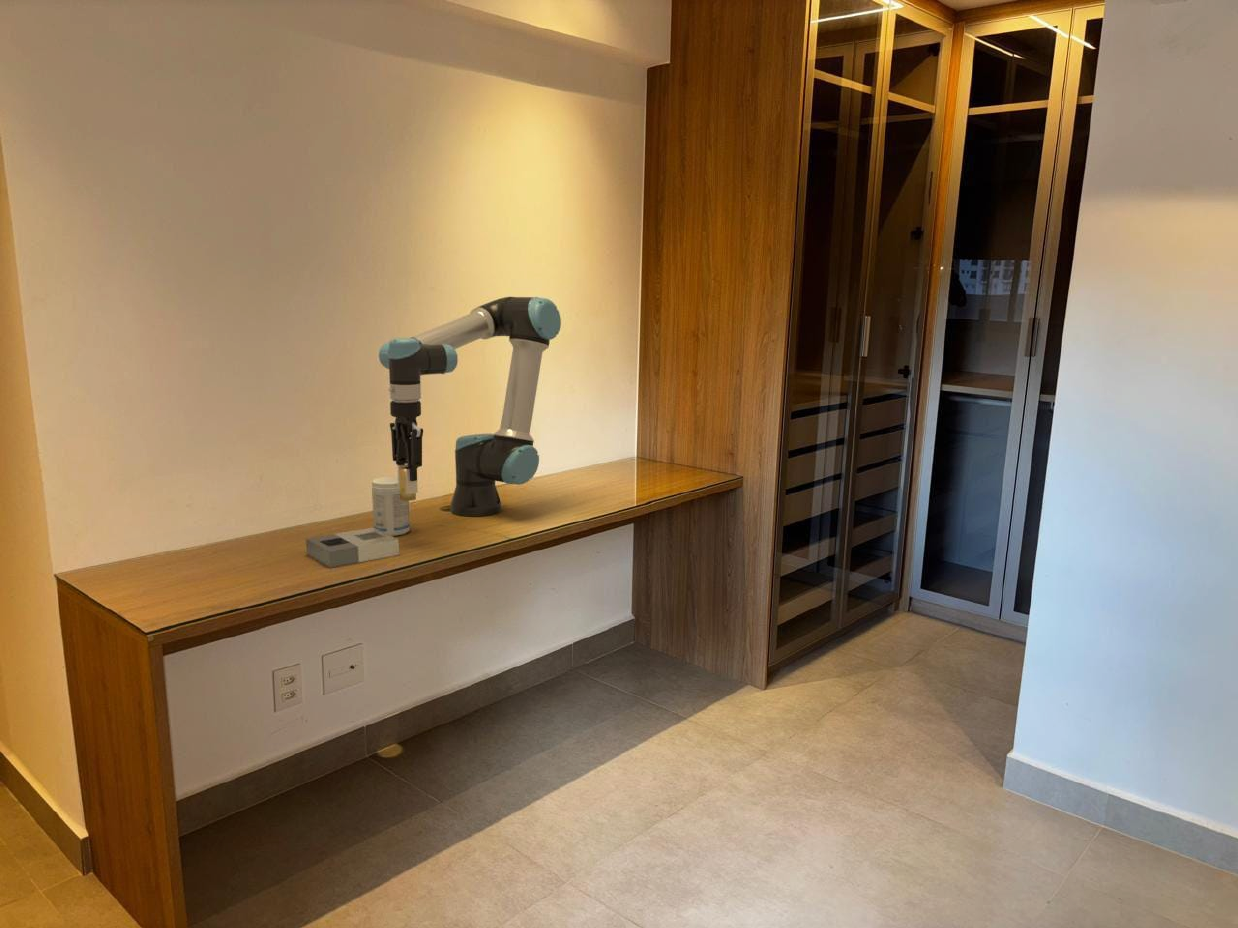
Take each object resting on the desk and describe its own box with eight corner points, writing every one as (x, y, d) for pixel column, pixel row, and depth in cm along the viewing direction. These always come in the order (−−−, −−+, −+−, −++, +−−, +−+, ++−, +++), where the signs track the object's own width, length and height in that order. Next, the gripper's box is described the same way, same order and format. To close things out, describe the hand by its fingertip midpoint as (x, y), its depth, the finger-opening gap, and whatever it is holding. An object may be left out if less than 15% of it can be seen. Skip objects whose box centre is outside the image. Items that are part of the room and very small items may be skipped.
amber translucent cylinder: (411, 496, 232) (410, 466, 230) (418, 499, 229) (418, 468, 227) (396, 498, 229) (396, 468, 228) (404, 501, 226) (403, 470, 225)
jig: (374, 542, 235) (373, 527, 234) (398, 554, 224) (398, 539, 223) (306, 554, 223) (305, 538, 222) (329, 568, 213) (328, 551, 212)
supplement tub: (409, 526, 250) (408, 475, 247) (410, 536, 241) (409, 482, 238) (373, 528, 248) (371, 476, 245) (373, 537, 239) (371, 484, 236)
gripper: (376, 397, 228) (379, 487, 232) (407, 405, 215) (410, 499, 220) (403, 396, 233) (405, 483, 237) (435, 403, 220) (437, 495, 225)
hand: (407, 491), depth 229 cm, fingers closed on amber translucent cylinder, 4 cm apart
